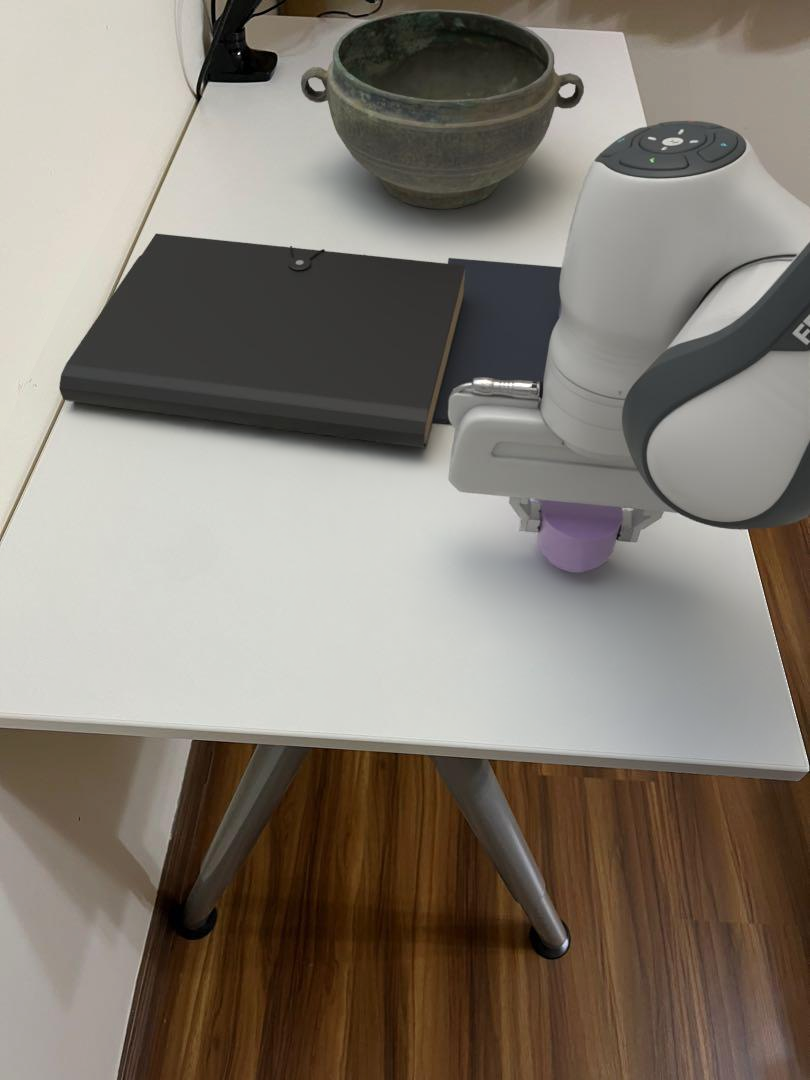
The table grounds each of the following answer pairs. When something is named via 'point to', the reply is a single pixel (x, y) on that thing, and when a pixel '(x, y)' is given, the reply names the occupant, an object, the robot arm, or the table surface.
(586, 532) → the lilac cylinder puck
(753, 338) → the robot arm
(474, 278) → the mat
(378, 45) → the bowl
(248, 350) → the file folder
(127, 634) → the table surface
